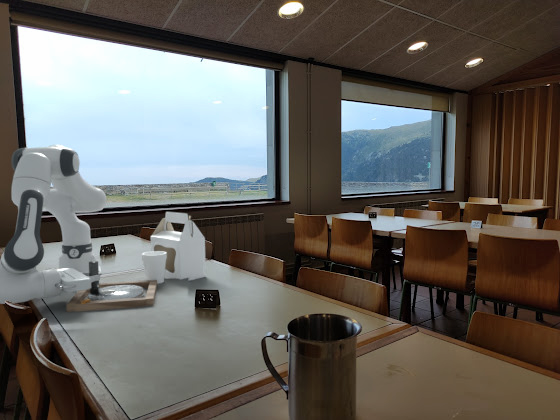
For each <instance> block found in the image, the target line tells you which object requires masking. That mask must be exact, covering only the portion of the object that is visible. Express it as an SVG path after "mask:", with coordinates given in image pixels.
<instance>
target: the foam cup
mask: <svg viewBox="0 0 560 420" xmlns="http://www.w3.org/2000/svg"><path fill="white" fill-rule="evenodd" d="M141 258H142V259H141V260H142V265H143V271H144V275H145V281H146V280H150V281H151V280H157V285H158V284H162V283H164V282H165V278H164V274H165V265H166V259H167V252H164V251H152V252H151V251H146V252H145V251H144V252H142V253H141Z"/></svg>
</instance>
